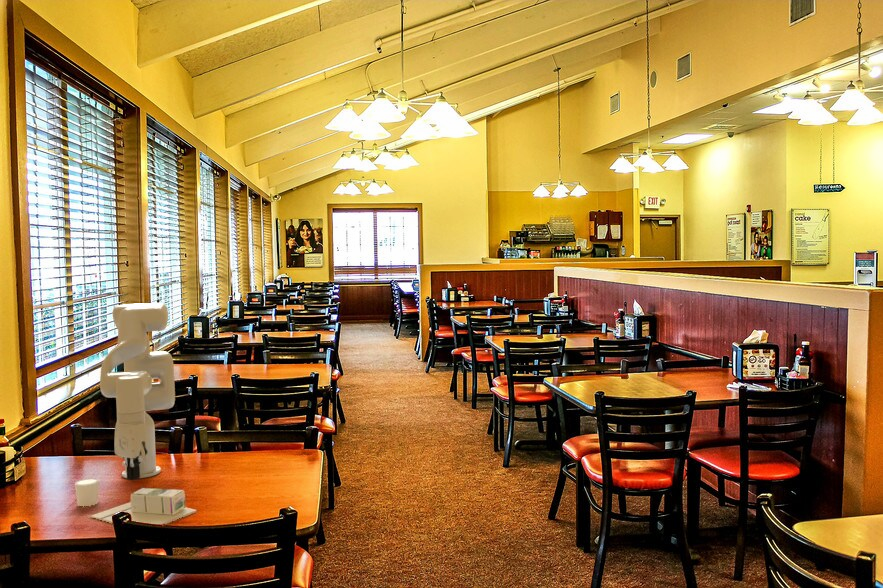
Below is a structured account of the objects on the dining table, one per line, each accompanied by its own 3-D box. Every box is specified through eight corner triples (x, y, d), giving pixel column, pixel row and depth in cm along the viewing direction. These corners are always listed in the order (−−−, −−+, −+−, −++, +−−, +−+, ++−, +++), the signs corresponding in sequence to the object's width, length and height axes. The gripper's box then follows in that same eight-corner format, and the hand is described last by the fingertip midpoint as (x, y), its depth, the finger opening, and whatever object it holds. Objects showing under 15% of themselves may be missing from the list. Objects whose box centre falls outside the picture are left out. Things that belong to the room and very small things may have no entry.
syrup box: (131, 512, 210) (174, 516, 207) (129, 493, 210) (173, 496, 207) (143, 505, 216) (186, 509, 213) (142, 486, 215) (185, 489, 212)
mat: (90, 517, 208) (90, 515, 208) (144, 499, 224) (143, 497, 224) (144, 532, 196) (143, 530, 196) (196, 511, 212) (196, 509, 212)
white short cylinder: (83, 509, 216) (82, 486, 215) (70, 505, 219) (69, 482, 219) (104, 502, 222) (103, 480, 221) (91, 498, 225) (90, 476, 225)
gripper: (103, 417, 211) (106, 478, 212) (136, 422, 204) (138, 486, 205) (126, 412, 218) (128, 472, 219) (158, 417, 210) (160, 479, 211)
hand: (133, 478), depth 212 cm, fingers closed
